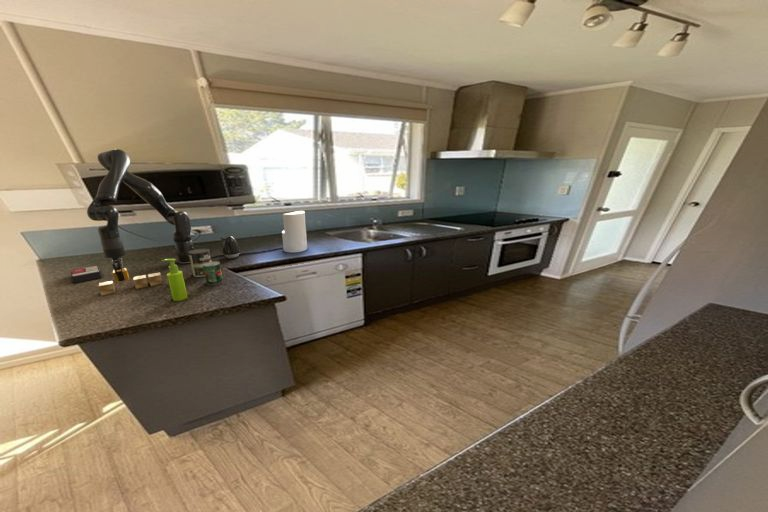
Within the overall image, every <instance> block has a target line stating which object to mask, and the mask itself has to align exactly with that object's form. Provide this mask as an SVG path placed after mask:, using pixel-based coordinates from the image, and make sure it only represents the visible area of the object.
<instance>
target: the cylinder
mask: <svg viewBox="0 0 768 512" xmlns="http://www.w3.org/2000/svg"><path fill="white" fill-rule="evenodd" d="M282 221H283V230H281V238H282V247H283V248H282V249H283V251H284V252H285V253H301V252H304V251H306V250H308V239H307V227H306V226H307V224H306V212H305V210H297V211H293V212H287V213H282Z"/></svg>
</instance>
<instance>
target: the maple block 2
mask: <svg viewBox="0 0 768 512" xmlns="http://www.w3.org/2000/svg"><path fill="white" fill-rule="evenodd" d="M147 279H148V283H149V286H150V287H153V286H158V285H162V284H163V278H162V275H161V272H154V273H148V274H147Z"/></svg>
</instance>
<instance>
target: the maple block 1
mask: <svg viewBox="0 0 768 512" xmlns="http://www.w3.org/2000/svg"><path fill="white" fill-rule="evenodd" d="M97 287H98V291H99V293H100V296H106V295H111V294H115V293H116V286H115V283H114V281H113V280H109V281H102V282H99V283H98V285H97Z"/></svg>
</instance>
